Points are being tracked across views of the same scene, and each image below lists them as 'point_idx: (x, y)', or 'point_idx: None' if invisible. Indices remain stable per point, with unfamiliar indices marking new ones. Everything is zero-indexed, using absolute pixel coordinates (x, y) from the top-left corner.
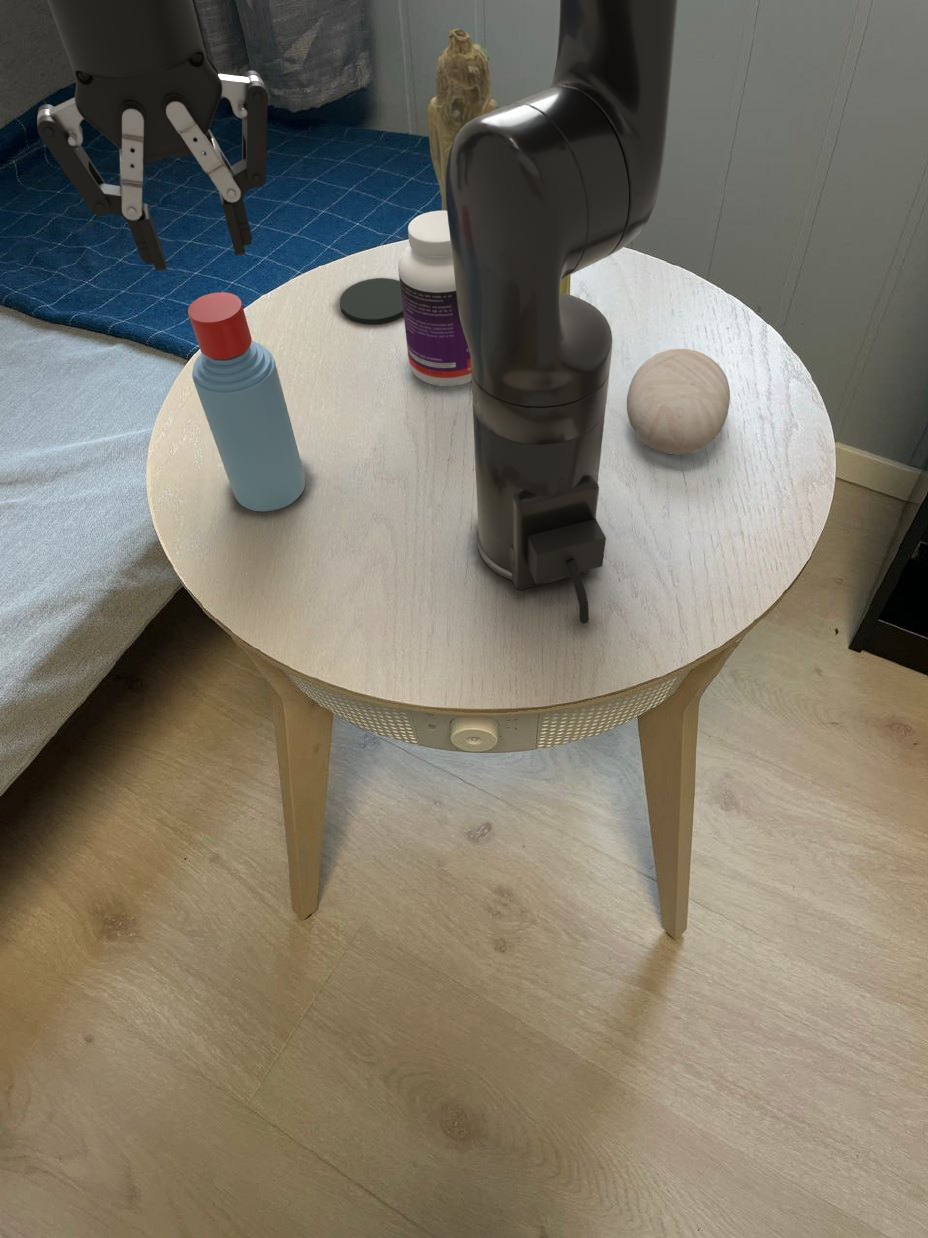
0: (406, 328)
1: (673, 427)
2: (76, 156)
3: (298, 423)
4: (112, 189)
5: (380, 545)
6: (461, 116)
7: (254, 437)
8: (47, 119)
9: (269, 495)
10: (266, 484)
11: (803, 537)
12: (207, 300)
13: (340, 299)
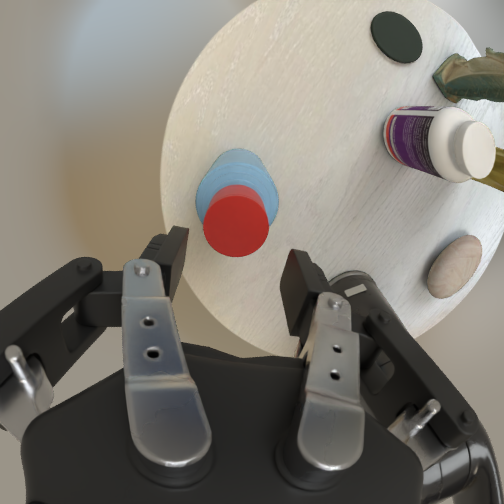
0: (402, 128)
1: (437, 293)
2: (51, 385)
3: (285, 120)
4: (108, 310)
5: (279, 261)
6: None
7: None
8: (2, 426)
9: None
10: None
11: (419, 334)
12: (232, 210)
13: (375, 17)
